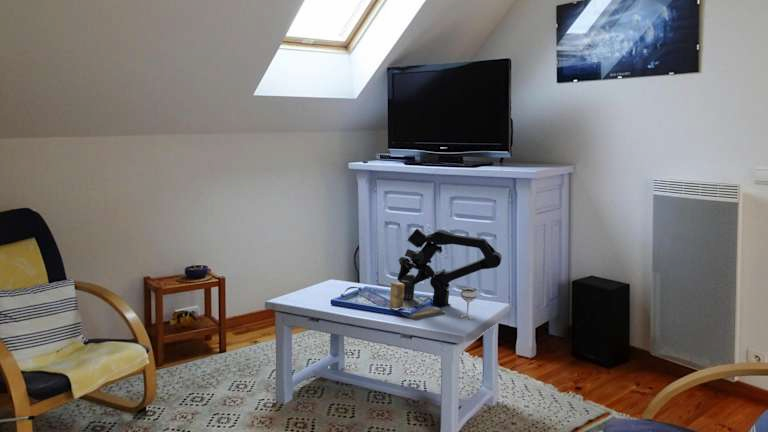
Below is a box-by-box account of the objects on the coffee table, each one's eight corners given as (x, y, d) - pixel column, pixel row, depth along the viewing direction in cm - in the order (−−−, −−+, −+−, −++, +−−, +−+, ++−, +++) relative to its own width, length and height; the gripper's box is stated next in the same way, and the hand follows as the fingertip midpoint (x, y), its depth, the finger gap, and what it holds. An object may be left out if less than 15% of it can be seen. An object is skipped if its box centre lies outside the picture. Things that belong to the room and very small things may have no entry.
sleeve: (396, 306, 286) (398, 281, 284) (402, 309, 283) (404, 284, 281) (389, 308, 284) (391, 282, 282) (395, 310, 281) (397, 285, 279)
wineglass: (464, 313, 282) (466, 286, 280) (478, 317, 278) (480, 289, 276) (455, 316, 277) (457, 288, 275) (469, 321, 273) (472, 292, 271)
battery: (396, 298, 298) (398, 273, 296) (399, 296, 301) (401, 271, 299) (411, 301, 295) (413, 276, 294) (414, 299, 299) (416, 274, 297)
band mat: (427, 306, 289) (427, 303, 289) (445, 313, 281) (445, 310, 280) (397, 312, 278) (397, 308, 278) (414, 320, 270) (414, 316, 270)
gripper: (403, 238, 292) (381, 265, 287) (431, 246, 278) (408, 275, 273) (415, 254, 298) (394, 281, 293) (444, 263, 284) (422, 292, 279)
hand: (404, 282), depth 284 cm, fingers open, 9 cm apart
